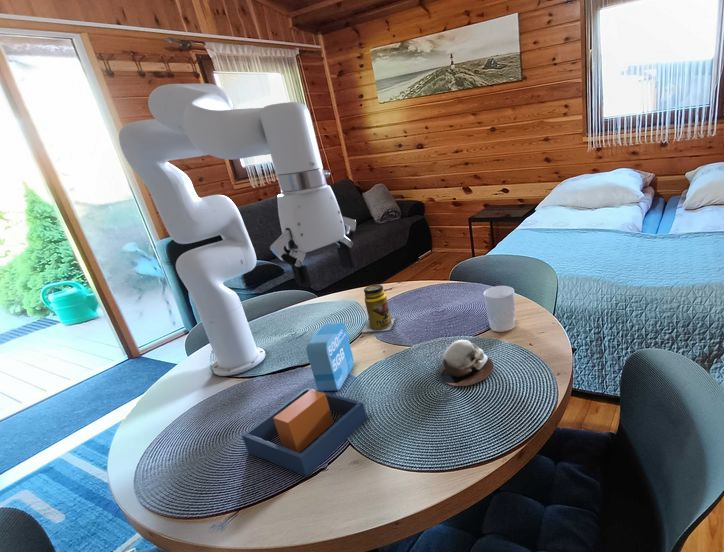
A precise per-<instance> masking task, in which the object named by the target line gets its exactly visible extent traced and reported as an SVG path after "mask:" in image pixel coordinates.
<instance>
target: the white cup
mask: <svg viewBox="0 0 724 552" xmlns="http://www.w3.org/2000/svg"><path fill="white" fill-rule="evenodd" d="M483 297H484V303H485V310H486V315H487V320H488V324H489V325H488V326H489V329H490V330H492V331H494V332H499V333H502V332H508V331H511V330H512V329H514V328H515V326H516V320H515V319H516V300H515V298H516V297H515V288H513V287H512V286H509V285H495V286H490V287H489V288H486V289H485V290H484V291H483Z"/></svg>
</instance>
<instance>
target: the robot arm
mask: <svg viewBox="0 0 724 552" xmlns="http://www.w3.org/2000/svg"><path fill="white" fill-rule="evenodd" d="M147 105H148V109H149V112H150V114H151V115H152V116H153V118H150V119H149V118H148V119H142V120H136V121H133V122H129V123H126V124H125V125H124V126H122V127H121V128H120V131H119V133H118V141H119V146H120V149H121V152H122V154H123V156H124V158H125V160H126V162H127V163H128V165H129V166H130V167H131V169H132V170H133V172H134V173H135V174H136V175H137V176H138V178H139V179H140V180H141V181H142V182H143V184H144V185H145V187H146V188H147V190H148V192H149V194H150V196H151V199H152V202H153V203H154V205H155V208H156V210H157V212H158V214H159V215H158V216H160V219H161V221H162V223H163V226H164V227H165V228H164V229H166V231H167V233H168V235H169V237H170V238H171V240H173V241H174V242H175V243H177V244H179V245H188V244H192V243H193V244H194V243H197V242H201V241H204V240H207V239H211V238H214V237H218V236H220V237H221V239H222V240H218V241H217V242H216V241H214V242H212V243H208V244H204V245H202V246H198V247H195V248H192V249H189V250H187V251H185V252H183V253H182V254H180V256H178V258H177V259H176V262H175V270H176V272H177V275H178V277H179V278H180V280H181V282H182V283H183V285H184V286H185V288H186V289H187V291H188V293H189V295H190V297H191V299H192V301H193V303H194V306H195V308H196V311H197V313H198V316H199V318H200V322H201V323H202V326H203V328H204V332H205V334H206V337H207V339H208V341H209V342H208V343H209V345H210V347H211V349H212V350H211V354H212V355H214V357H215V360H216V361H215V362H214V364H213V365H212V371H213V373H214V374H215V375H217V376H219V377H220V376H221V377H229V376H234V375H238V374H241V373H245V372H247V371H249V370H251V369H253V368H256V367H257V366H258V365H260V364H261V363H262V362H263V361H264V359H265V358H266V351H265V350H264V348H261V347H259V346H257V345H256V342H255V339H254V336H253V333H252V331H251V328H250V325H249V321H248V319H247V316H246V313H245V310H244V308H243V305H242V302H241V299H240V297H239V295H238V294H237V292H236V291H234V290H233V289H231V288H229V287H228V286H226V285H225V284H224V283H226V282H227V281H229V280H232V279H235V278H237V277H239V276H242V275H245V274H247V273H249V272H251V271H253V270H254V269H255V268H256V266H257V255H256V251H255V247H254V246H253V243H252V241H251V237H250V236H249V232H248V230H247V227H246V225H245V223H244V220H243V218H242V215H241V213H240V210H239V209H238V207H237V206H236V204H235V203H234V202H233V201H232V199H230V198H229V197H228V196H226V195H222V194H212V195H206V196H203V197H199V196H198V194H197V192H196V190H195V188H194V185H193V182H192V180H191V179H190V177H189V176H188V175H187V174H186V173H185V172H183V171H182V170H181V169H180V168H178V167H176V166H175V165H174V164H172V163H170V162H169V161H176V160H184V159H191V158H198V157H205V156H210V157H211V156H212V157H213V158H218V159H221V160H231V161H232V160H241V159H246V158H253V157H260V156H267V155H268V156H269V155H270V158H271V161H272V164H273V168H274V171H275V175H276V179H277V181H278V186H279V189H280V194H278V195H277V200H276V201H277V213H278V219H279V225H280V229H281V234H280V236H279V237H278V238H277V239H276V240H275V241H273V242H272V243H271V245H270V246H269V250H270V251H271V252H272V253H273V255H275V256H276V257H277V258H278V260H279V261H281V262H283V263H284V264H287V265H288V266H290V267H291V270H292V273H293V277H294V280H295V283H296V284H297V285H298V286H299V287H303V288H311V286H312V282H311V278H310V274H309V270H308V267H307V265H306V264H303V263H304V260H305V258H306V256H307V253H309V252H313V251H316V250H319V249H321V248H324V247H326V246H329V245H332V244H337V245H338V246H337V247H336V248H337V250H336V251H337V255H338V258H339V262H340V266H341V268H345V269H350V270H352V269H354V268H355V263H354V256H353V253H352V247H353V245H354V243H353V242H354V238H355V237H356V227H357V221H356V219H353V218H350V217H346V216H343V215H342V212H341V209H340V206H339V204H338V201H337V198H336V195H335V193H334V190H333V189H332V187H331V185H328V183H327V179H328V178H330V175H331V174H330V172H329V170H328V169H325V170H324V167H323V163H322V158H321V154H320V150H319V146H318V141H317V137H316V134H315V129H314V125H313V121H312V117H311V112H310V110H309V108H308V107H307V105H306V104H304V103H302V102H299V101H298V102H297V101H296V102H295V101H291V102H279V103H273V104H268V105H266V106H264V107H255V108H254V107H252V108H235V109H234V105H233V102H232V100H231V97H230V96H229V94H228V93H227V92H226V91H225V90H224V89H223V88H221V87H220V86H218V85H216V84H213V83H168V84H163V85H160V86H157V87H155V88H154V89H153V90H152V91H151V92H150V94H149V96H148V99H147ZM285 248H286V250H288V251H289V253H287V252H286V251H285Z"/></svg>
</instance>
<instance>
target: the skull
mask: <svg viewBox="0 0 724 552" xmlns="http://www.w3.org/2000/svg"><path fill="white" fill-rule="evenodd" d="M442 363H443V366H442V367H441V369H440V373H439V375H440V378H441V380H442V381H443V382H444V383H446V384H447V385H450V386H454V387H465V386H473V385H475V384H477V383H480V382H482V381H484V380H486V378H488V377H489V376H490V375H491V374H492V372H493V371H494V362H493V360H492V358H490V357H488V356H487V355H486V353H484V350H483V349H482V348H480V347H479V346H478V345H476V344H475V343H473V342H471V341H470V340H467V339H458V340H455V341H453V342H452V343H451V344H449V346H448V347H446V349H445V351H444V352H443V354H442Z"/></svg>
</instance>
